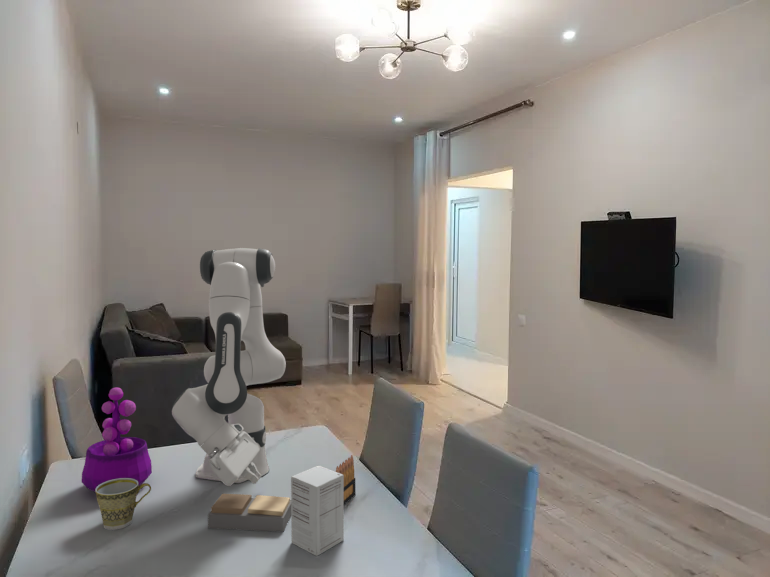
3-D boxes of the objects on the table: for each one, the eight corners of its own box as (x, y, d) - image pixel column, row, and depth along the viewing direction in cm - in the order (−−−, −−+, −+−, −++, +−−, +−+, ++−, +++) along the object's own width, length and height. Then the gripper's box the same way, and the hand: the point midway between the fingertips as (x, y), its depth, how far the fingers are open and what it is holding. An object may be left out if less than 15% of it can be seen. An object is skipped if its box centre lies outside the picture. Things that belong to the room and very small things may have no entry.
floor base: (208, 528, 140) (207, 509, 140) (222, 509, 150) (221, 491, 150) (283, 531, 139) (283, 512, 139) (292, 512, 149) (292, 494, 149)
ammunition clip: (338, 510, 151) (338, 467, 150) (332, 509, 152) (332, 466, 151) (355, 494, 161) (356, 454, 160) (350, 493, 161) (350, 453, 161)
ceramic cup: (96, 537, 135) (95, 497, 135) (96, 519, 144) (95, 482, 143) (153, 525, 141) (152, 487, 140) (150, 509, 150) (149, 473, 149)
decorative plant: (146, 469, 176) (144, 377, 174) (158, 491, 161) (156, 390, 159) (79, 482, 166) (76, 384, 164) (84, 507, 150) (82, 399, 148)
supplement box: (318, 528, 141) (318, 464, 140) (344, 540, 135) (345, 473, 134) (289, 543, 134) (289, 475, 132) (316, 557, 128) (316, 486, 127)
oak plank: (247, 513, 140) (247, 509, 140) (257, 499, 148) (257, 495, 148) (282, 515, 140) (282, 511, 140) (290, 501, 148) (290, 497, 148)
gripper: (214, 448, 133) (254, 489, 133) (242, 421, 153) (276, 457, 154) (197, 465, 134) (236, 506, 134) (226, 436, 154) (260, 472, 154)
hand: (258, 480), depth 144 cm, fingers closed
